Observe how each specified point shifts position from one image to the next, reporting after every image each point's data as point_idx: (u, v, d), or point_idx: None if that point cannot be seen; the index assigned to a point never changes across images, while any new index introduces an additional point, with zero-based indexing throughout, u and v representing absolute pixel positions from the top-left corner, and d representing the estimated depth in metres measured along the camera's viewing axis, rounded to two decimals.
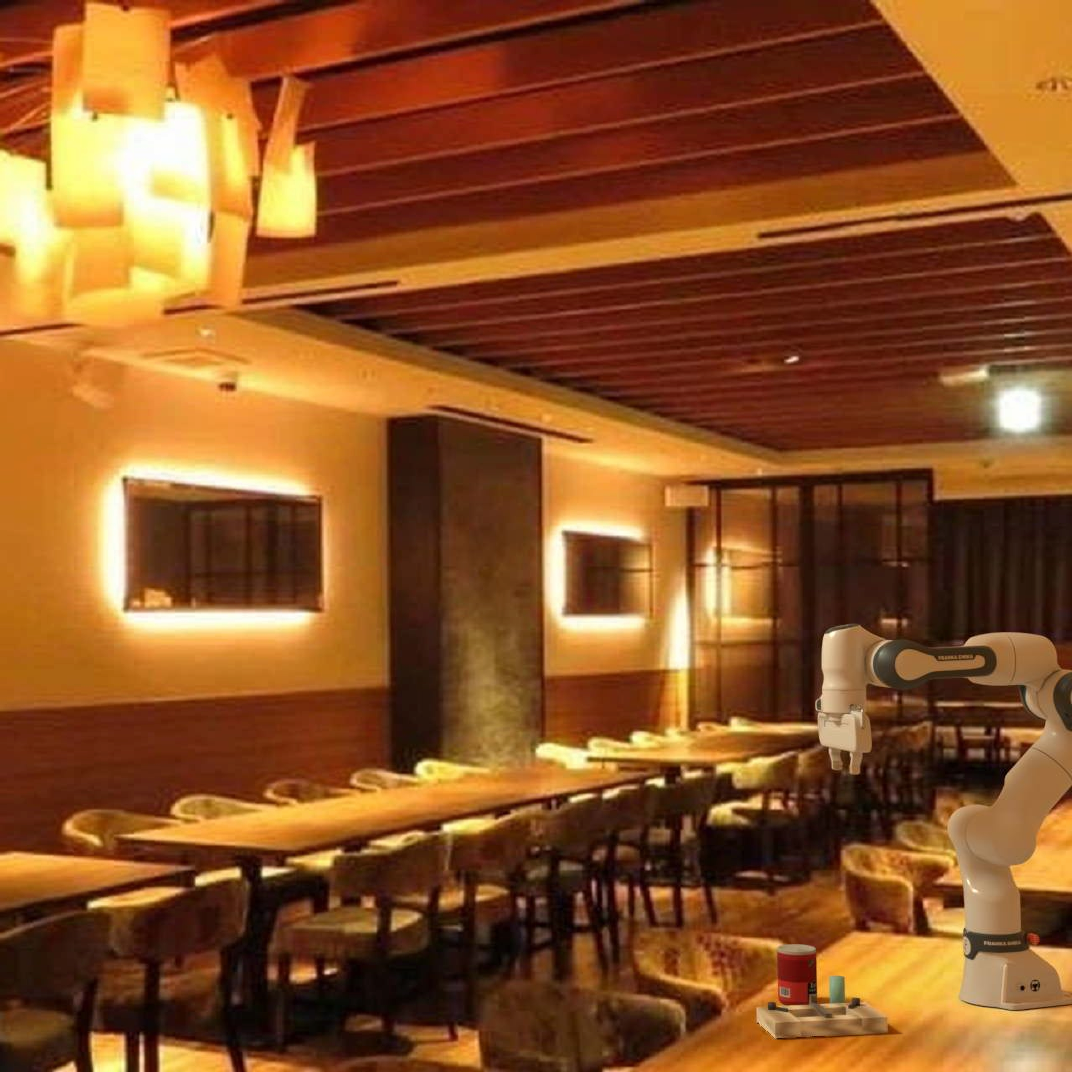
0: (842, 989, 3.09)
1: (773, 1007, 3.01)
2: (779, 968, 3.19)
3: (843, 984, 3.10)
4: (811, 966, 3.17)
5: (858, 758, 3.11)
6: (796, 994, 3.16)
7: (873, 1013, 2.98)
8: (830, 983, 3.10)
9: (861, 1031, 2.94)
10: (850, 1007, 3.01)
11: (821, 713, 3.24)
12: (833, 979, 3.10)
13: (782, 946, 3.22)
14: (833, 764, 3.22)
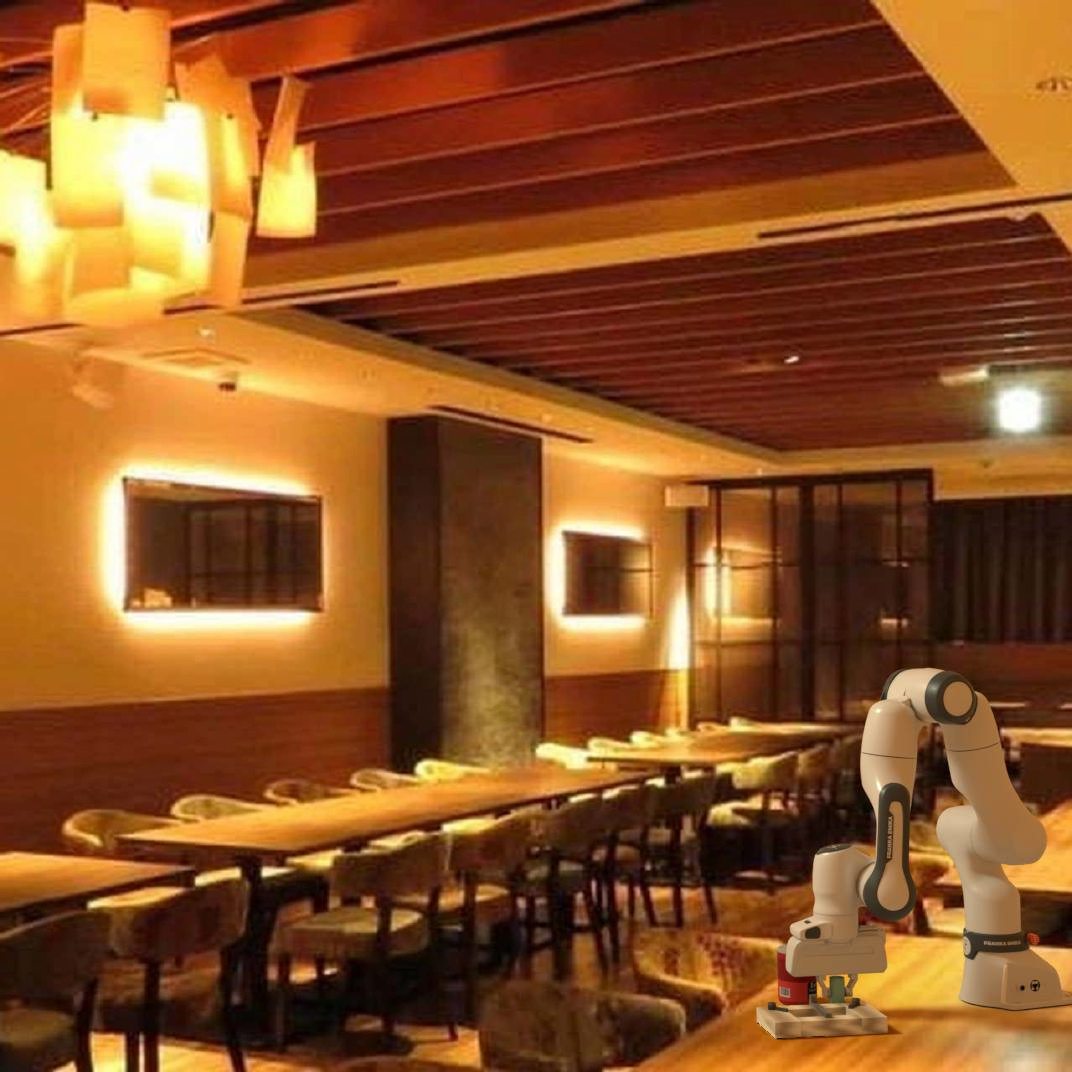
0: (842, 989, 3.09)
1: (773, 1007, 3.01)
2: (779, 968, 3.19)
3: (843, 984, 3.10)
4: None
5: None
6: (796, 994, 3.16)
7: (873, 1013, 2.98)
8: (830, 983, 3.10)
9: (861, 1031, 2.94)
10: (850, 1007, 3.01)
11: (811, 941, 3.08)
12: (833, 979, 3.10)
13: (782, 946, 3.22)
14: (829, 992, 3.09)
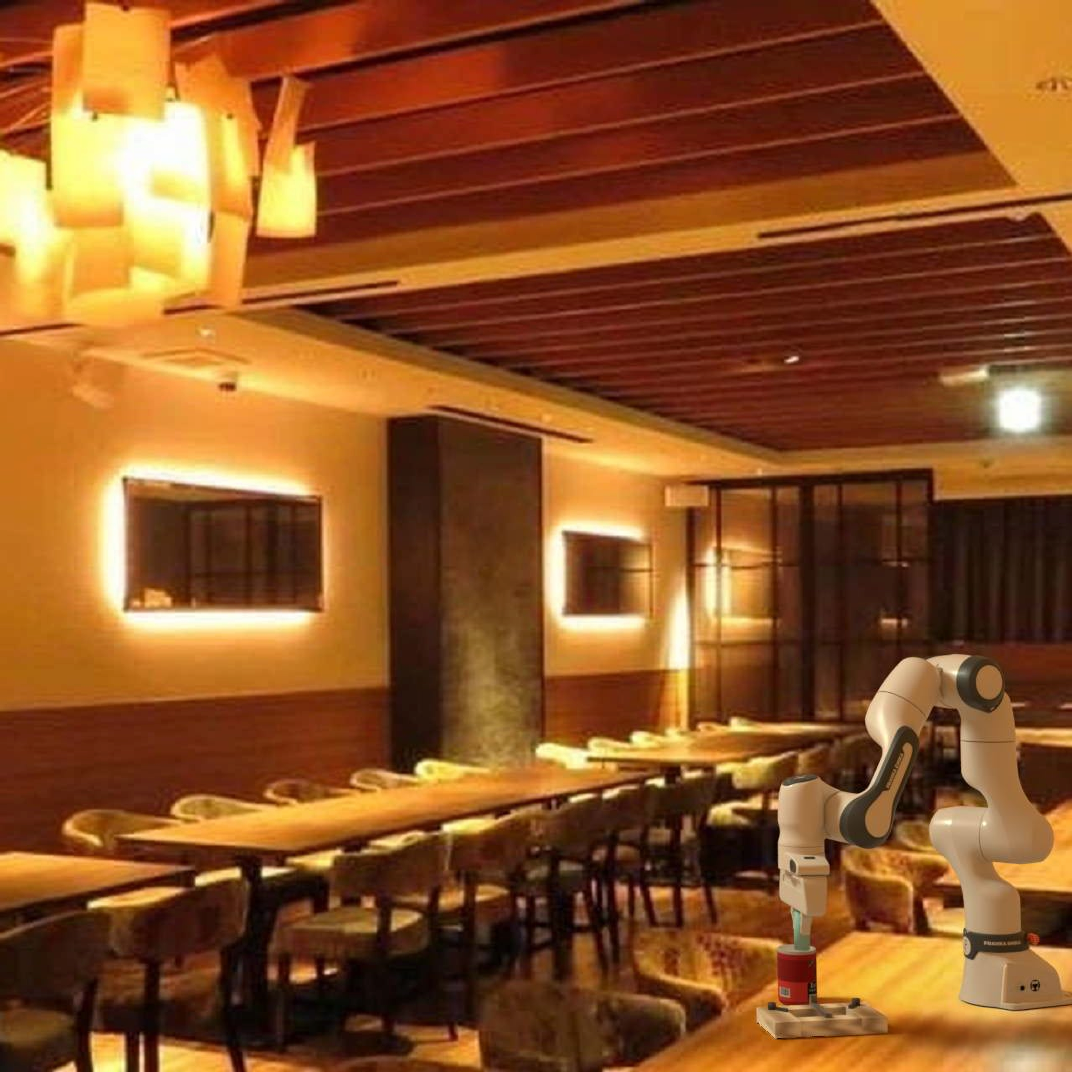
0: None
1: (773, 1007, 3.01)
2: (779, 968, 3.19)
3: None
4: (811, 966, 3.17)
5: None
6: (796, 994, 3.16)
7: (873, 1013, 2.98)
8: None
9: (861, 1031, 2.94)
10: (850, 1007, 3.01)
11: None
12: None
13: (782, 946, 3.22)
14: None
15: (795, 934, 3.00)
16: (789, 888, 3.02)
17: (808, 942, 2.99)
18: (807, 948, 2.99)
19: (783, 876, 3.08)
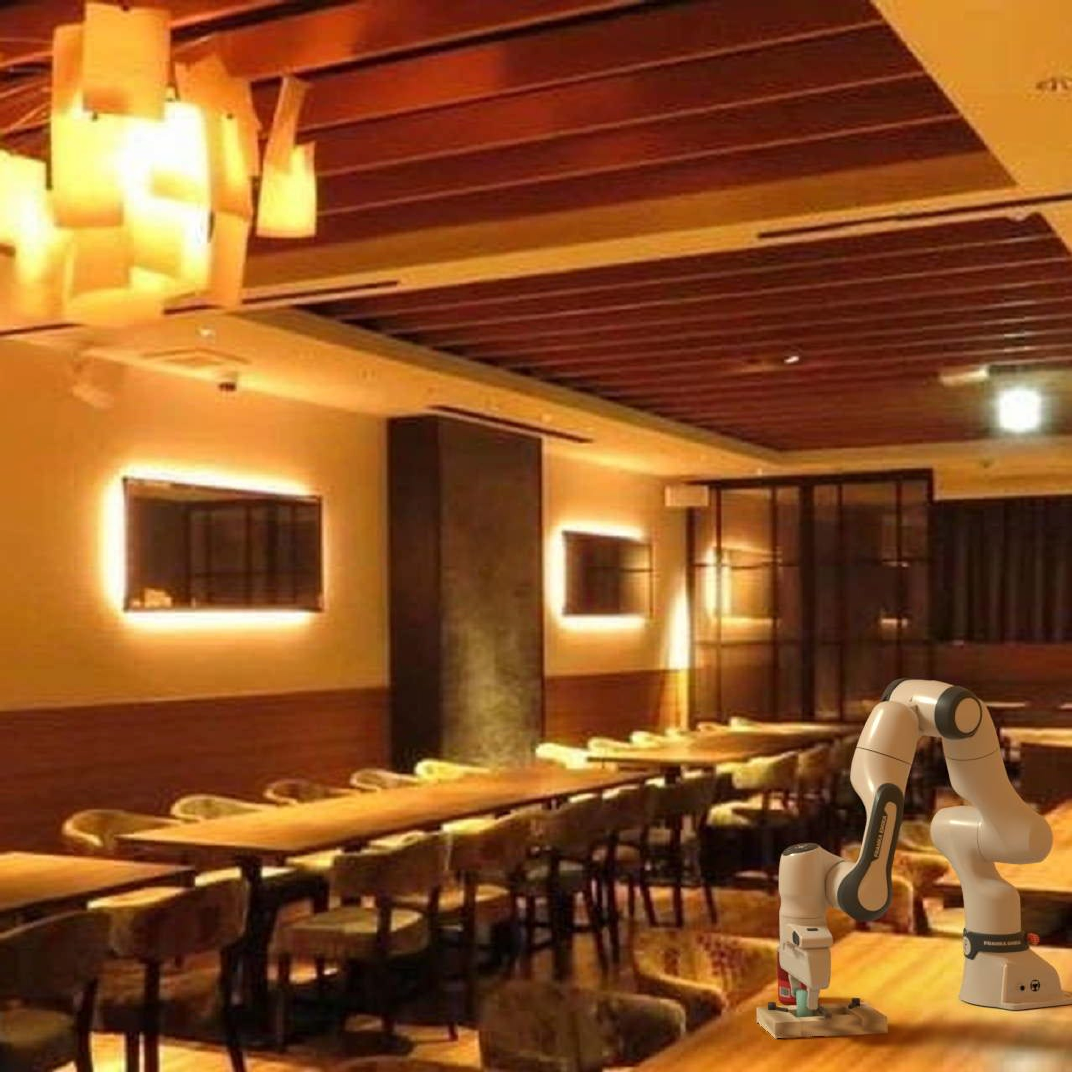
0: None
1: (773, 1007, 3.01)
2: (779, 968, 3.19)
3: None
4: None
5: None
6: None
7: (873, 1013, 2.98)
8: None
9: (861, 1031, 2.94)
10: (850, 1007, 3.01)
11: None
12: None
13: None
14: None
15: (798, 1014, 2.98)
16: (791, 958, 3.01)
17: None
18: None
19: (783, 944, 3.06)
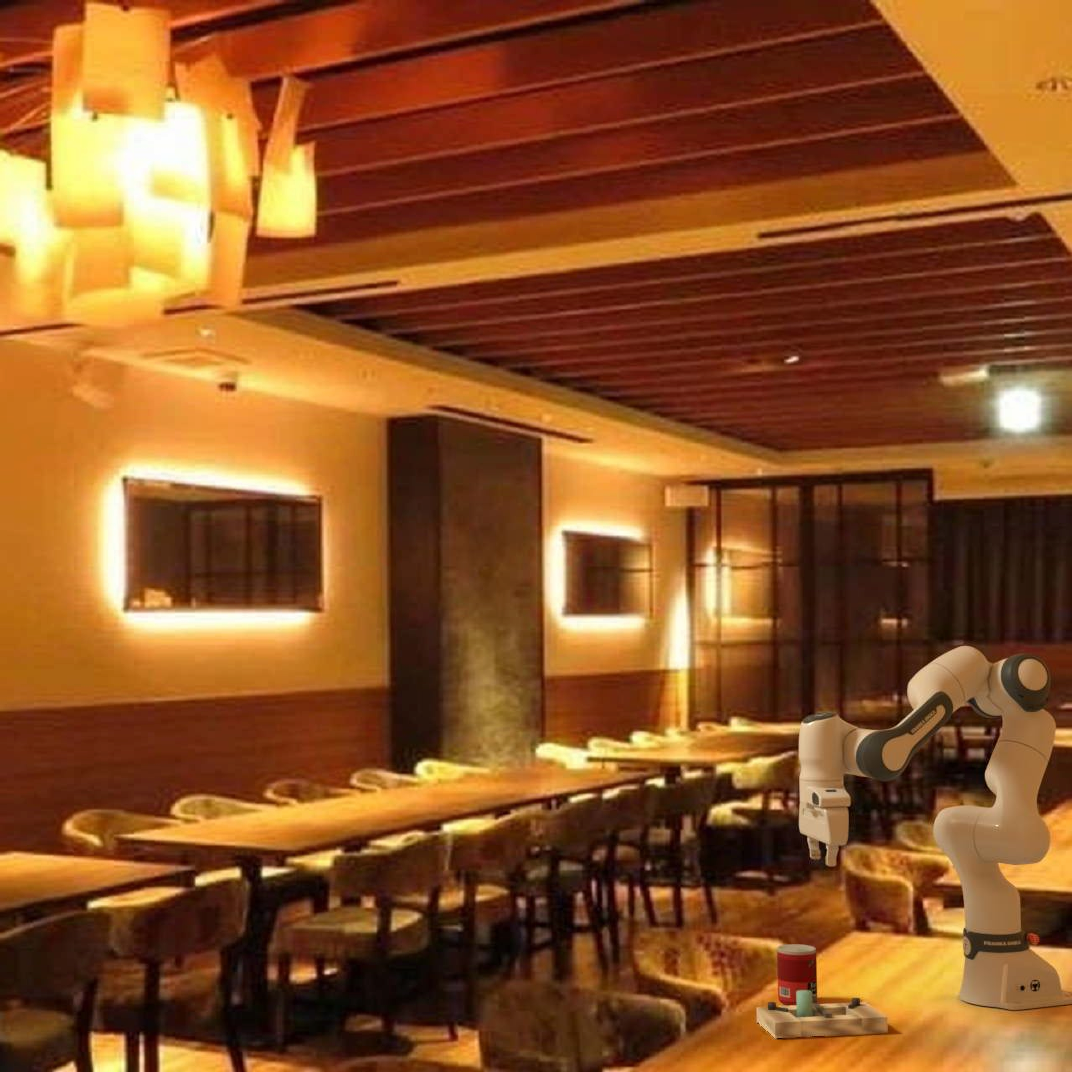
0: None
1: (773, 1007, 3.01)
2: (779, 968, 3.19)
3: None
4: (811, 966, 3.17)
5: None
6: None
7: (873, 1013, 2.98)
8: (808, 999, 2.97)
9: (861, 1031, 2.94)
10: (850, 1007, 3.01)
11: None
12: (810, 993, 2.98)
13: (782, 946, 3.22)
14: None
15: (798, 1014, 2.98)
16: (810, 821, 3.18)
17: None
18: None
19: (803, 810, 3.23)
